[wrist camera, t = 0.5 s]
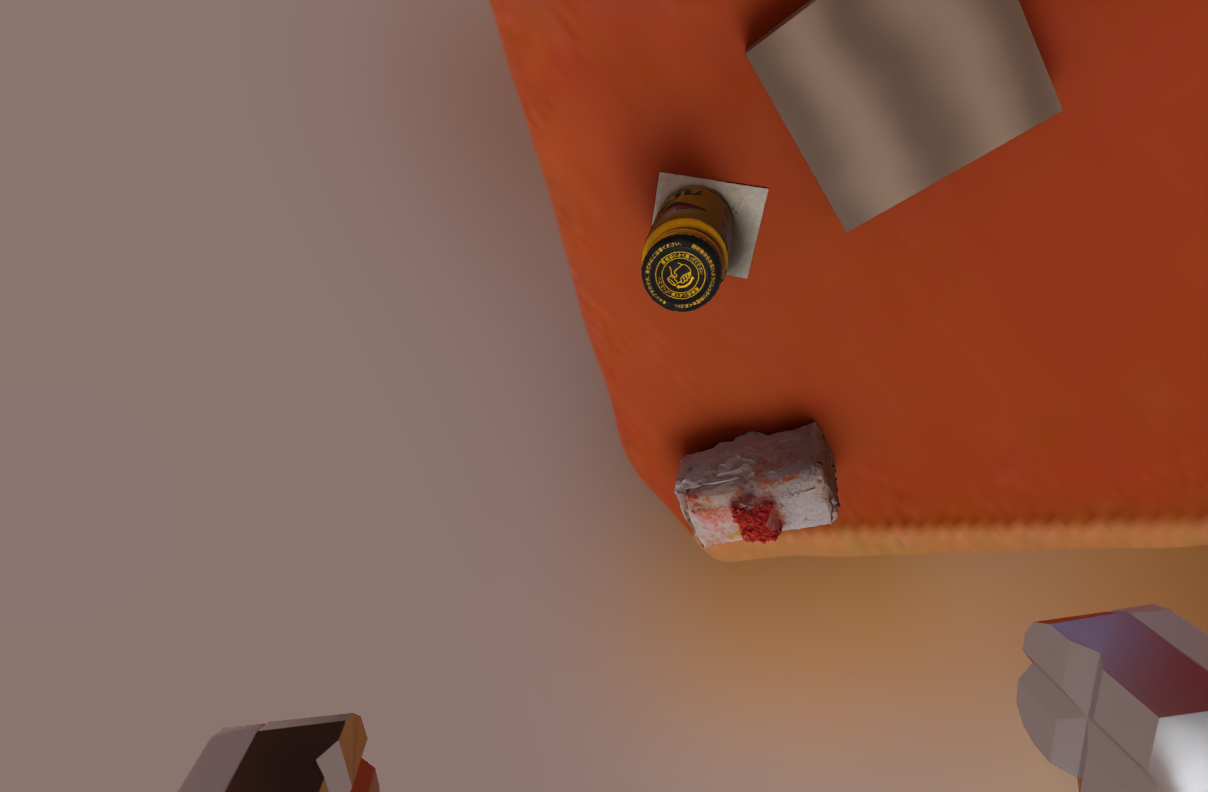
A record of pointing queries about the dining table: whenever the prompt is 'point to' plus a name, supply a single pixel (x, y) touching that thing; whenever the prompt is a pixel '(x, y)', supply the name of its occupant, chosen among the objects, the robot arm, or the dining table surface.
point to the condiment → (699, 238)
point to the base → (900, 91)
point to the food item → (759, 486)
